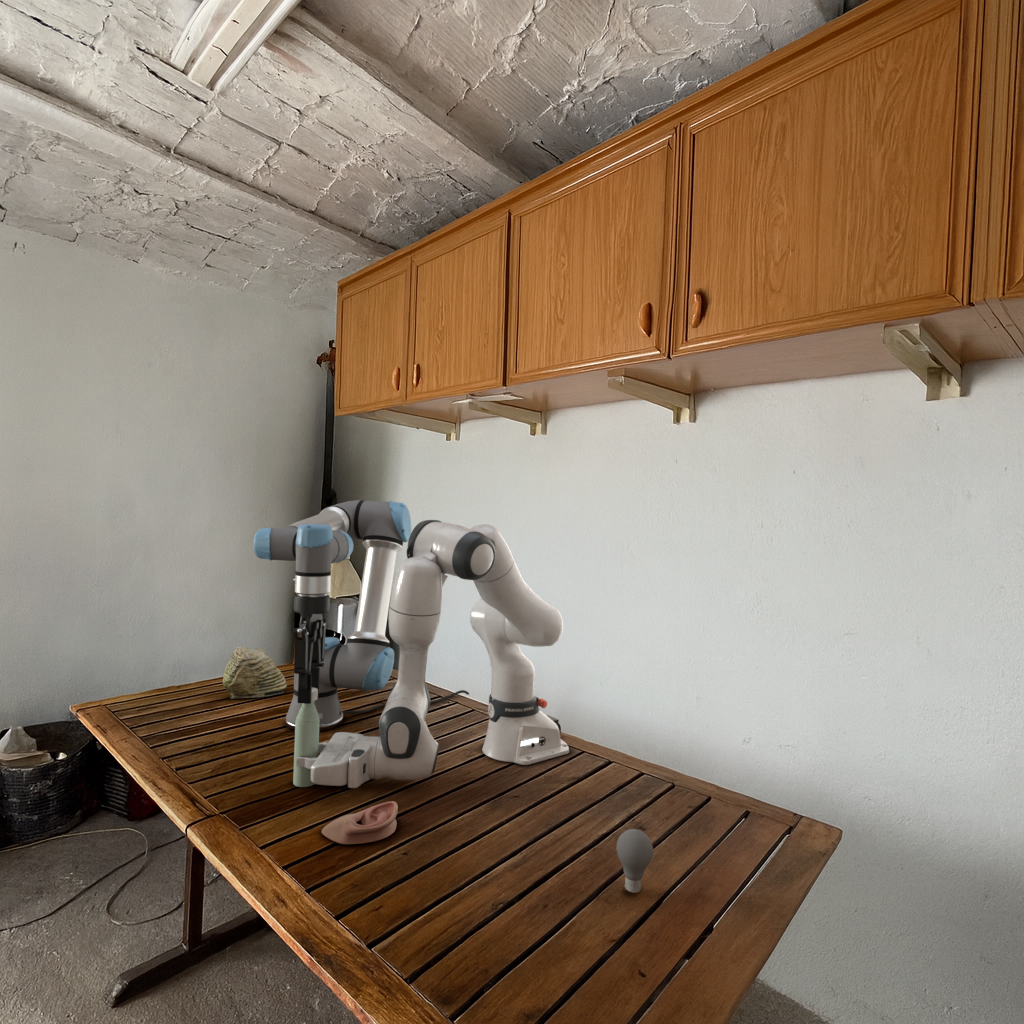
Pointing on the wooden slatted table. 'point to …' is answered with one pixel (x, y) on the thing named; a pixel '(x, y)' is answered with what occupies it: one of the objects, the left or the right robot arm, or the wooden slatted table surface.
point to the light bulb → (634, 857)
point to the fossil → (252, 674)
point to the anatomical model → (364, 825)
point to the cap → (314, 694)
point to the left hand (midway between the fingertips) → (308, 699)
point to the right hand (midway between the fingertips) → (302, 754)
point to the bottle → (305, 742)
